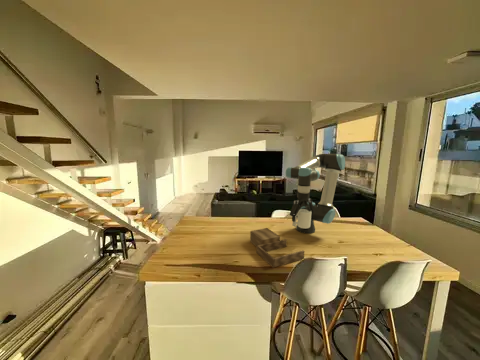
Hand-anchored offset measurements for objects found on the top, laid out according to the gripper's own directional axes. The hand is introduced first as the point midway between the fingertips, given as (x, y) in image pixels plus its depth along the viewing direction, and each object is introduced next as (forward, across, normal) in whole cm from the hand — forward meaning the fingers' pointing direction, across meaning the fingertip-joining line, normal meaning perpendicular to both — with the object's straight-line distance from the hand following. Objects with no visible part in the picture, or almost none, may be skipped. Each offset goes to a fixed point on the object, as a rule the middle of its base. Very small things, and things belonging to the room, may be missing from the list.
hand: (301, 224), depth 141 cm
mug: (+1, 0, 0) cm, 1 cm away
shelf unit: (+18, +16, -8) cm, 26 cm away
